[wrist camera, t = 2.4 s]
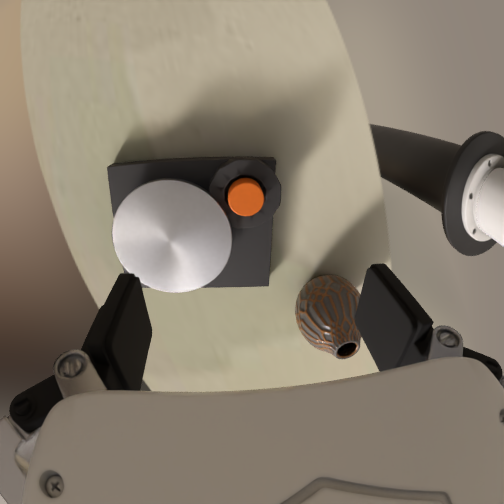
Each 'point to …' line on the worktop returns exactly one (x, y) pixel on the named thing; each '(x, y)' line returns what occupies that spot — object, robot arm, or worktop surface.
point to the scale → (218, 183)
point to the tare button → (245, 197)
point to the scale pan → (172, 235)
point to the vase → (329, 315)
